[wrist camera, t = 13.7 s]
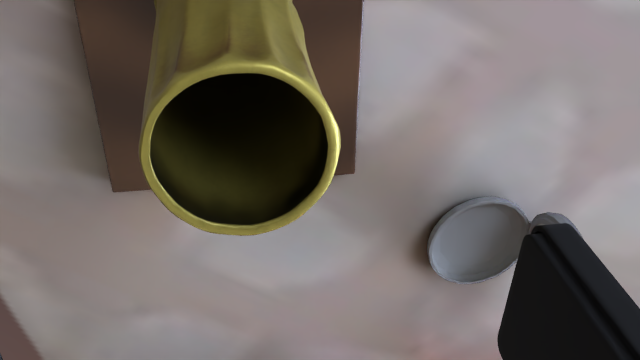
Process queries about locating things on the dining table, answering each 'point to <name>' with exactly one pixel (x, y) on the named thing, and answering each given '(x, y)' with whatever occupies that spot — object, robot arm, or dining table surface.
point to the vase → (235, 116)
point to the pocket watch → (482, 239)
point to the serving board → (134, 61)
